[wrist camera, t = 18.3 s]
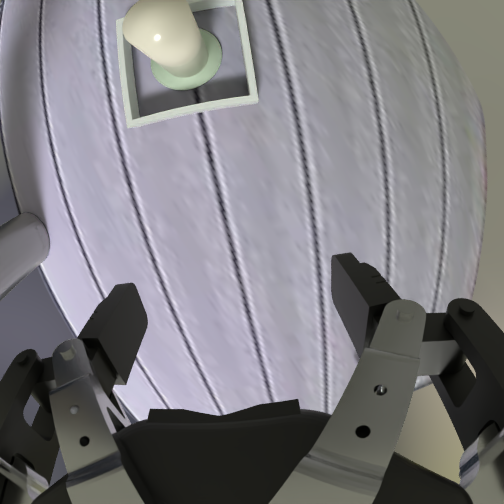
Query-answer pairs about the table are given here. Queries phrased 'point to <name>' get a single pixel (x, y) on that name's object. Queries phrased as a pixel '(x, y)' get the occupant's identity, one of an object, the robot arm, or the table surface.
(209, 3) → the square picture frame
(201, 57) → the canister
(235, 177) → the table surface
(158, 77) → the pad
